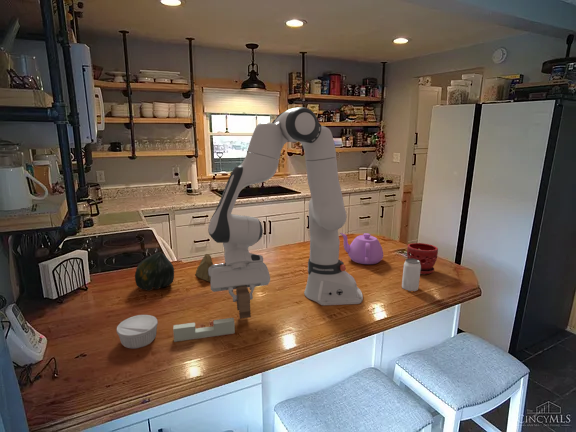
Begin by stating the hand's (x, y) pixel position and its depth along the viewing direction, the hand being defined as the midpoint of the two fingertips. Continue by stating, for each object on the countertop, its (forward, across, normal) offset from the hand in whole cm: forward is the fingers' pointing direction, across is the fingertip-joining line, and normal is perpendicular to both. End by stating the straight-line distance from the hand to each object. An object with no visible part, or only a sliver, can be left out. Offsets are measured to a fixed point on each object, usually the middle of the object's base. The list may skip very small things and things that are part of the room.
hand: (243, 300), depth 114 cm
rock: (-22, -11, +31) cm, 40 cm away
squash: (-19, -30, +28) cm, 46 cm away
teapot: (-24, +65, +36) cm, 78 cm away
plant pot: (-10, +86, +23) cm, 89 cm away
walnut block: (+3, 0, +3) cm, 4 cm away
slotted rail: (+9, -13, 0) cm, 16 cm away
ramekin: (+7, -32, +2) cm, 33 cm away
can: (+1, +70, +12) cm, 70 cm away
